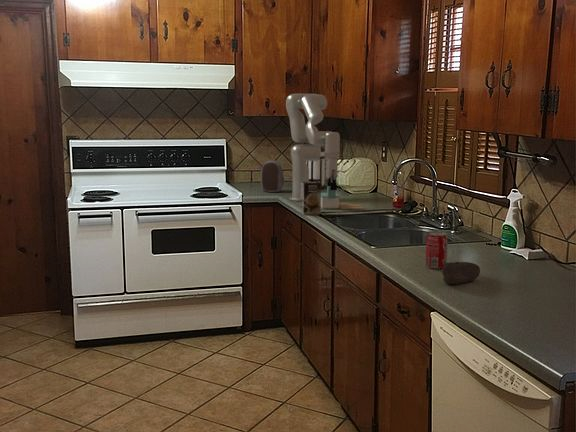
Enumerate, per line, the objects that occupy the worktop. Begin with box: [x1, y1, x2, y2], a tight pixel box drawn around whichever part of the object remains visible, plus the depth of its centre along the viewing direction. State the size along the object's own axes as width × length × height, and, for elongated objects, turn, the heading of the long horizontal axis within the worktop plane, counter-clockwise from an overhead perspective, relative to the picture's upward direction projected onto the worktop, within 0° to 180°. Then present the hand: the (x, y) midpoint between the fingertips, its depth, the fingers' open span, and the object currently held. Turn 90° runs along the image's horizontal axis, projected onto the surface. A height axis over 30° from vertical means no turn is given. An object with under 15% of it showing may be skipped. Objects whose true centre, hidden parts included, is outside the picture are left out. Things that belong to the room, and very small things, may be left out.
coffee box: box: [299, 182, 322, 216], centre depth 307 cm, size 9×6×16 cm
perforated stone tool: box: [442, 261, 481, 285], centre depth 192 cm, size 15×5×7 cm, turn 113°
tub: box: [321, 197, 340, 210], centre depth 328 cm, size 12×9×6 cm
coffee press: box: [305, 146, 326, 190], centre depth 394 cm, size 17×16×30 cm
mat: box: [339, 202, 365, 210], centre depth 329 cm, size 18×12×1 cm, turn 5°
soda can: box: [425, 231, 448, 270], centre depth 209 cm, size 7×7×12 cm
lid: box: [321, 185, 341, 199], centre depth 325 cm, size 15×10×6 cm, turn 5°
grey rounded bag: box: [260, 159, 285, 193], centre depth 379 cm, size 15×8×20 cm, turn 72°
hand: (332, 189), depth 318 cm, fingers open, 9 cm apart
